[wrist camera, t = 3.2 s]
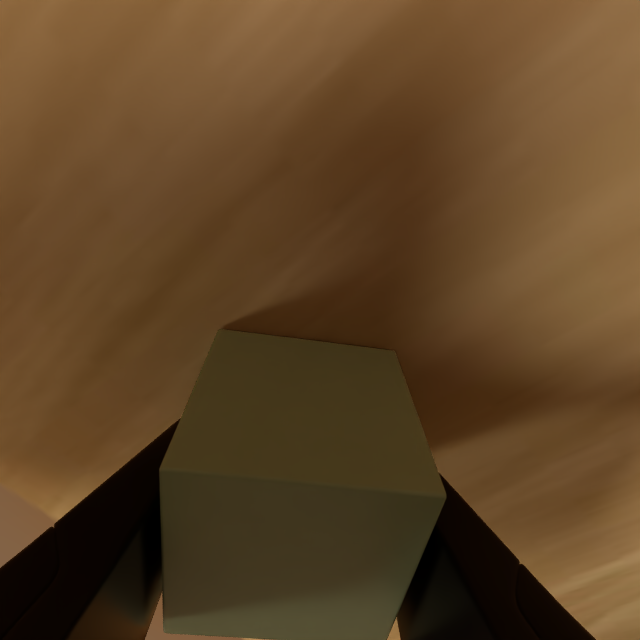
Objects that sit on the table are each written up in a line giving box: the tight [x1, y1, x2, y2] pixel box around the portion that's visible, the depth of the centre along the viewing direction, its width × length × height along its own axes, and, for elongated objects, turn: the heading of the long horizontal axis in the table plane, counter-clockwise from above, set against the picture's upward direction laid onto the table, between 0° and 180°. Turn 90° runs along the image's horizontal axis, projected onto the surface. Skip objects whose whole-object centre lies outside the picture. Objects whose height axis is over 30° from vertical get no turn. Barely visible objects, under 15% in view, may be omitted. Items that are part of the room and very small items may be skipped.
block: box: [159, 329, 446, 640], centre depth 8 cm, size 4×4×4 cm
